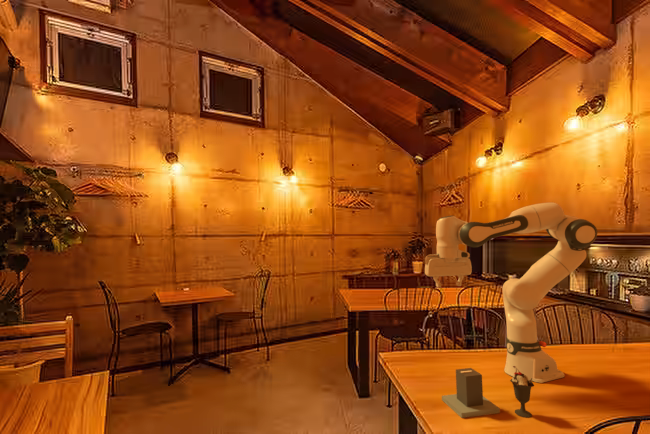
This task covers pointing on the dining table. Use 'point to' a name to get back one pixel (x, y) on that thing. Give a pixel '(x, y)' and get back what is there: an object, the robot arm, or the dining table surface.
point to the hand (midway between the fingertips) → (448, 286)
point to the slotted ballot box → (469, 387)
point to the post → (470, 411)
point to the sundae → (522, 392)
